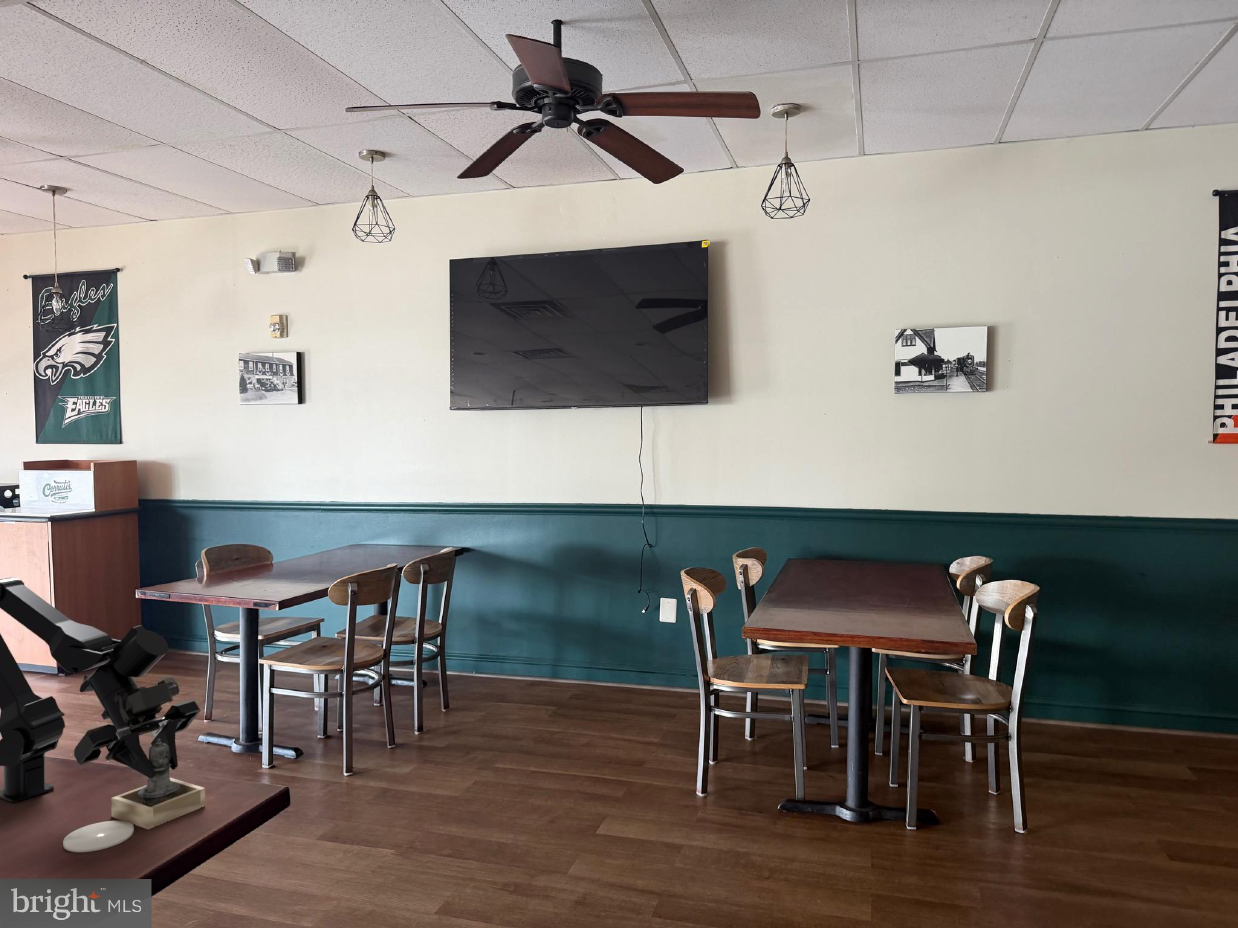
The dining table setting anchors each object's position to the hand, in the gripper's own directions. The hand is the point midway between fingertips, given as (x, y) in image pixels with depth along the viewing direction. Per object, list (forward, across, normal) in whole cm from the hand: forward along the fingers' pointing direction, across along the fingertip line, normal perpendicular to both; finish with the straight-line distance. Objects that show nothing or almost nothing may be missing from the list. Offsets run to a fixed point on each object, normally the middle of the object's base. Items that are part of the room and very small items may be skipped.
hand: (164, 772), depth 132 cm
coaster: (+4, -10, +5) cm, 12 cm away
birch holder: (+4, 0, +6) cm, 7 cm away
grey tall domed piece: (+4, 0, +6) cm, 7 cm away
